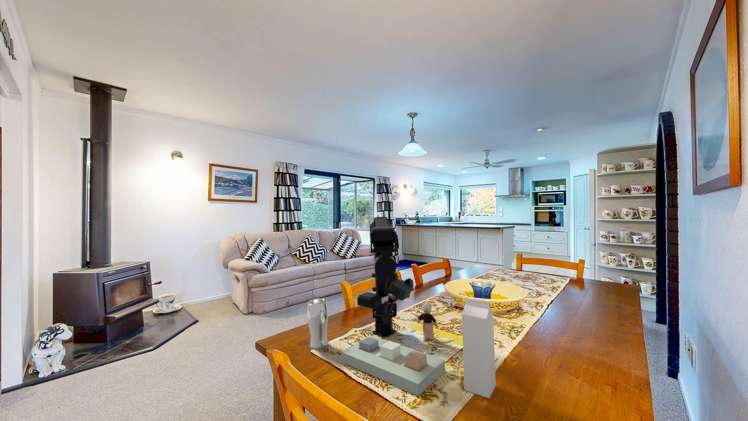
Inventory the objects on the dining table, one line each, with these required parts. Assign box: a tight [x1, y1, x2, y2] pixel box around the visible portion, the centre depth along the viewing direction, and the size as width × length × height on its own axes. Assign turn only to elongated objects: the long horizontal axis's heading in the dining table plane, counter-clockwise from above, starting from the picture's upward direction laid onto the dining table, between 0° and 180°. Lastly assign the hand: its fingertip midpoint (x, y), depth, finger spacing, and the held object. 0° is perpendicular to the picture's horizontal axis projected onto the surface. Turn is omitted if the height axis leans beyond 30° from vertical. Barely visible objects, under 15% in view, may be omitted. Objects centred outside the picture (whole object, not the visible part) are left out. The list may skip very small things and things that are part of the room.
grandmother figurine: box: [416, 302, 439, 343], centre depth 100 cm, size 8×4×13 cm, turn 65°
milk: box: [461, 298, 497, 399], centre depth 72 cm, size 6×6×22 cm
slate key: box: [358, 336, 379, 353], centre depth 90 cm, size 4×4×4 cm
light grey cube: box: [380, 340, 402, 362], centre depth 84 cm, size 4×4×4 cm
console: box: [340, 335, 446, 397], centre depth 84 cm, size 14×27×3 cm, turn 50°
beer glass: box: [306, 297, 329, 350], centre depth 99 cm, size 7×7×15 cm
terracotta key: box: [405, 349, 427, 372], centre depth 79 cm, size 4×4×4 cm
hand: (386, 322), depth 86 cm, fingers closed
